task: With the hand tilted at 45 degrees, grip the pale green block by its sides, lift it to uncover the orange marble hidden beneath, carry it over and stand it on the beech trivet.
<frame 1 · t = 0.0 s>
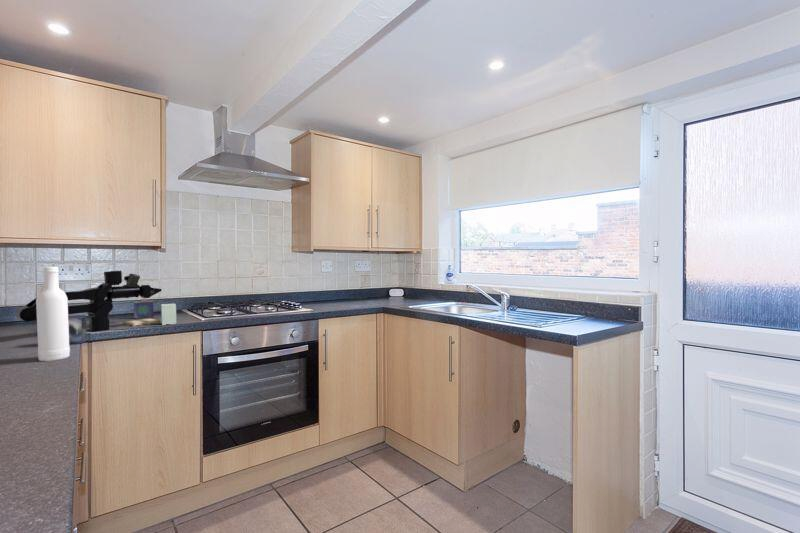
hand: (157, 289, 205), 17 cm above the worktop, tool horizontal, fingers open, 9 cm apart
marble: (168, 320, 200), in the pale green block
bottle: (54, 358, 133), on the worktop
trivet: (141, 323, 202), on the worktop
small box: (68, 344, 156), on the worktop
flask: (144, 318, 221), on the worktop
pale green block: (168, 323, 200), on the worktop
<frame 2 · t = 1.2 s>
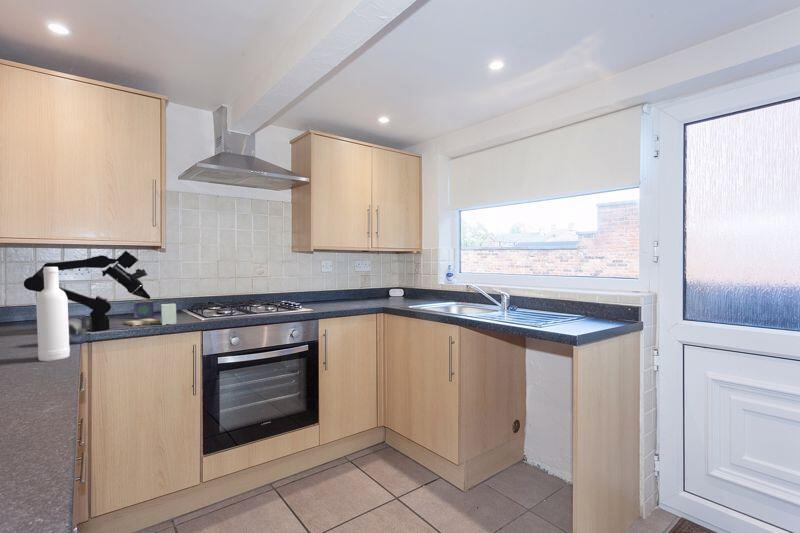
hand: (149, 297, 196), 13 cm above the worktop, tool tilted 45°, fingers open, 9 cm apart
nothing on the worktop moved.
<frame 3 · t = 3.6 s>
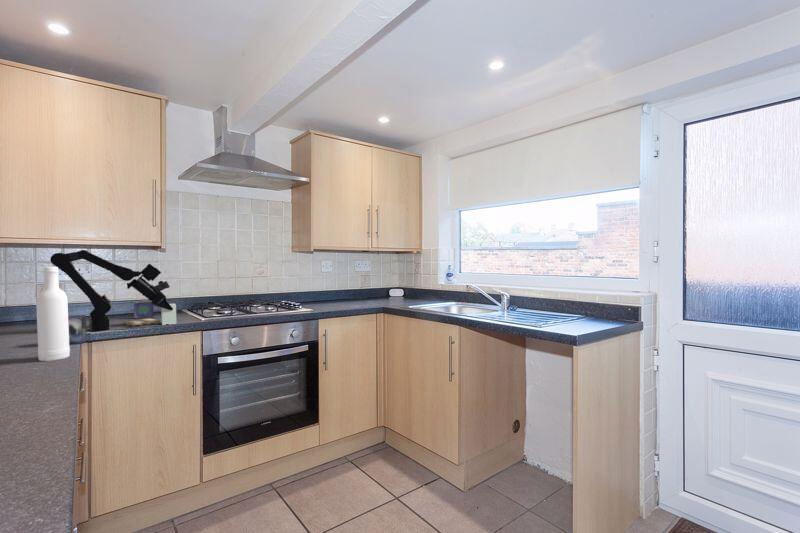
hand: (171, 309, 201), 7 cm above the worktop, tool tilted 45°, fingers closed on pale green block, 6 cm apart
pale green block: (169, 323, 201), on the worktop, touching gripper
everything else where it was.
when the fingers open (9 cm above the worktop, at t = 7.3 s): pale green block stays where it is, resting on trivet.
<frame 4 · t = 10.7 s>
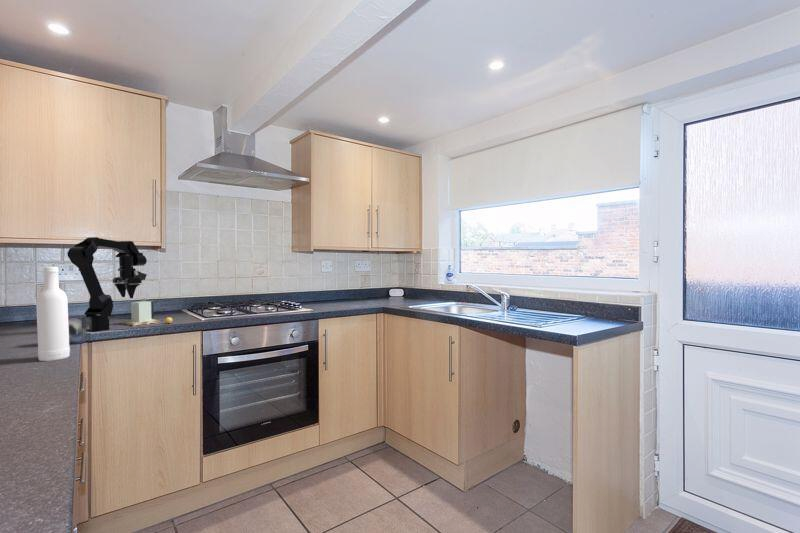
hand: (127, 297, 202), 13 cm above the worktop, tool pointing down, fingers open, 9 cm apart
pale green block: (141, 321, 202), point 1 cm above the worktop, touching trivet
everything else where it was.
at the end: pale green block inside the target area on the trivet (0.0 cm from its centre), point 1.2 cm above the trivet's base; pale green block tilted 0°; pale green block moved 14.8 cm from its start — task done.
